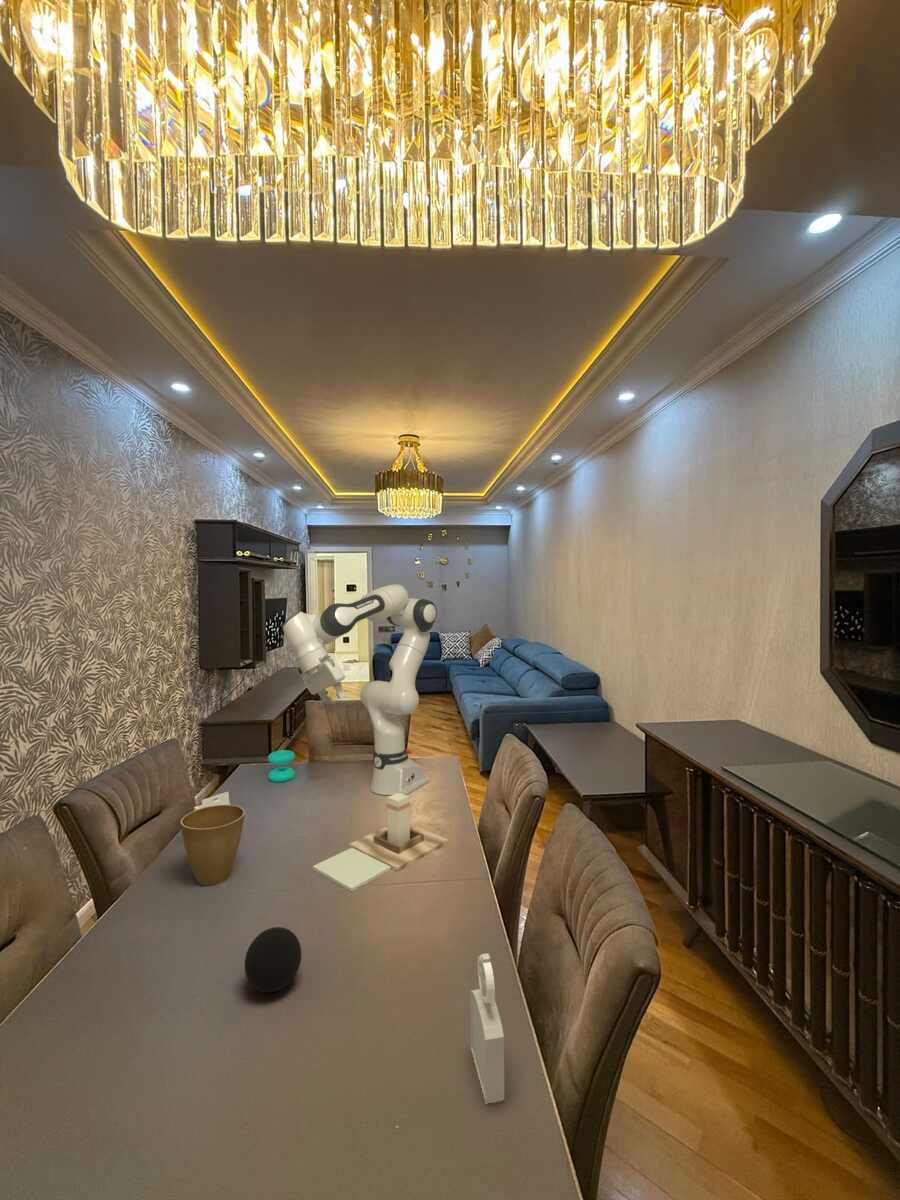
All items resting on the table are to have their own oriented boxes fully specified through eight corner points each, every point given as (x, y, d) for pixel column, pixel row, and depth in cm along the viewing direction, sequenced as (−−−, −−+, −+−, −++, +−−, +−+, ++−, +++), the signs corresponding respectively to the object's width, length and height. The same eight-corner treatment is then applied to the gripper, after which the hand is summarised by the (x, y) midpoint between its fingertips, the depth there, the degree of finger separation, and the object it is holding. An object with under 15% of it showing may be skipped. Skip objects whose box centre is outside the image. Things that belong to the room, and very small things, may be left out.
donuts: (296, 754, 203) (269, 758, 199) (297, 780, 203) (269, 784, 199) (292, 747, 212) (266, 751, 208) (293, 772, 212) (267, 776, 208)
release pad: (351, 850, 149) (351, 847, 149) (390, 869, 138) (390, 866, 138) (312, 869, 139) (312, 866, 139) (351, 891, 128) (351, 888, 128)
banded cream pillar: (399, 839, 155) (398, 792, 154) (410, 844, 152) (409, 796, 151) (387, 845, 151) (386, 797, 151) (398, 851, 148) (398, 801, 148)
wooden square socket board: (399, 823, 166) (399, 814, 165) (448, 843, 152) (448, 833, 152) (348, 847, 150) (348, 837, 150) (397, 871, 137) (397, 860, 137)
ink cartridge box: (222, 836, 158) (221, 787, 158) (231, 840, 155) (230, 791, 155) (193, 847, 151) (192, 796, 151) (202, 852, 148) (201, 800, 148)
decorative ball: (309, 967, 103) (308, 916, 103) (289, 1008, 93) (288, 952, 93) (260, 964, 104) (259, 914, 104) (234, 1004, 94) (233, 949, 94)
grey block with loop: (487, 1045, 85) (486, 935, 85) (504, 1101, 76) (503, 977, 75) (470, 1048, 84) (469, 937, 84) (485, 1104, 75) (484, 980, 75)
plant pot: (222, 897, 127) (221, 831, 126) (168, 890, 130) (166, 826, 129) (257, 865, 141) (256, 805, 141) (207, 860, 144) (206, 801, 144)
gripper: (336, 648, 161) (358, 689, 160) (311, 664, 176) (330, 701, 176) (319, 657, 157) (341, 698, 156) (294, 672, 172) (314, 710, 172)
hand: (335, 700), depth 166 cm, fingers open, 8 cm apart
